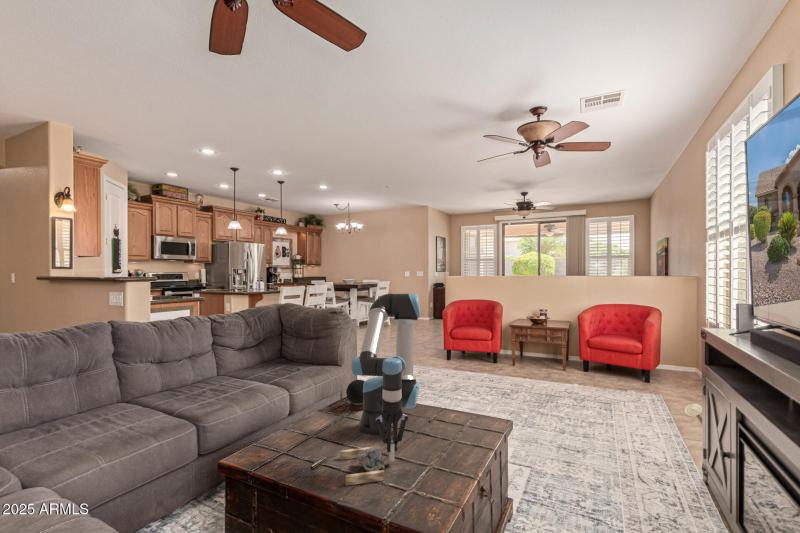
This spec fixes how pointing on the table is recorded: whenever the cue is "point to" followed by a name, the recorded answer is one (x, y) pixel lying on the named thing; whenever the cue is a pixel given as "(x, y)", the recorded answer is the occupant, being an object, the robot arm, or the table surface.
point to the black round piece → (355, 395)
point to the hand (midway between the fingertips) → (391, 459)
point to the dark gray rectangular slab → (307, 473)
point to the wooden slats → (360, 477)
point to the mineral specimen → (371, 459)
